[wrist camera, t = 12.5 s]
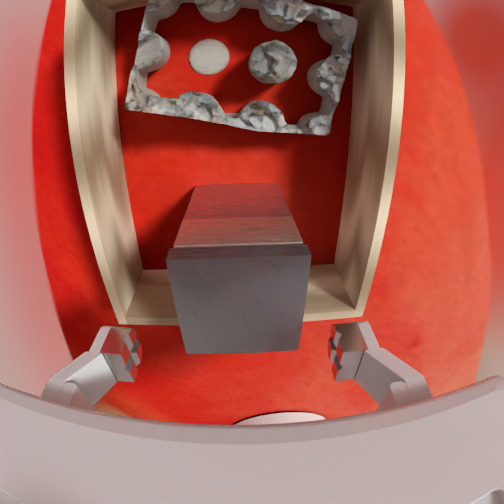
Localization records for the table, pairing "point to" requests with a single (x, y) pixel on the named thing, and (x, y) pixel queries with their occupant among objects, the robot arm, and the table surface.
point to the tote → (114, 179)
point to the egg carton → (260, 64)
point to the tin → (239, 271)
